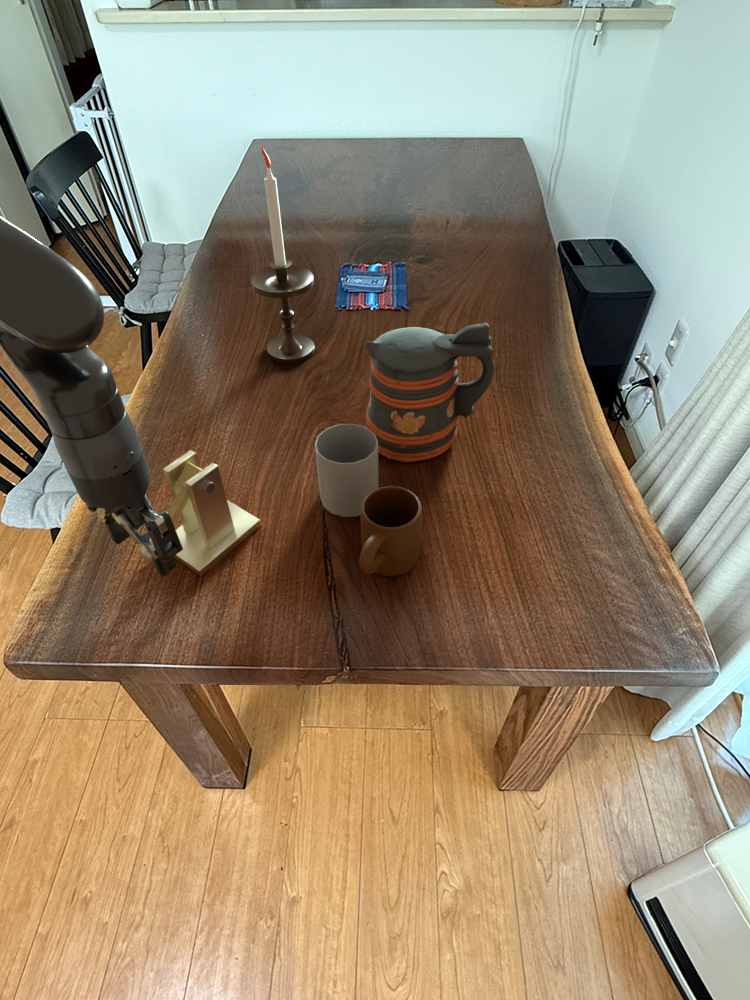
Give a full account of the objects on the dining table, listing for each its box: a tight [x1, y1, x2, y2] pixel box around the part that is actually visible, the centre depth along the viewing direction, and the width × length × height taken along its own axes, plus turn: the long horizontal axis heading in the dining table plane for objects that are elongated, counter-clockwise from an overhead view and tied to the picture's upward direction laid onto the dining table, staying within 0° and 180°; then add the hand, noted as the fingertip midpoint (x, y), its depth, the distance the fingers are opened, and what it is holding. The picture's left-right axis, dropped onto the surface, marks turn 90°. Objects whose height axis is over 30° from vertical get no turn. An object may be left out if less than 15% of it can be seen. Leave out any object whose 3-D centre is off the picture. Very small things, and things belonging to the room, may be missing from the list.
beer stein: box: [364, 322, 495, 463], centre depth 90 cm, size 19×15×20 cm
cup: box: [314, 423, 379, 518], centre depth 83 cm, size 8×8×10 cm
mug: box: [359, 485, 423, 577], centre depth 74 cm, size 12×8×9 cm, turn 156°
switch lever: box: [139, 463, 204, 564], centre depth 73 cm, size 13×3×3 cm
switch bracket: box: [162, 449, 262, 577], centre depth 77 cm, size 11×8×13 cm
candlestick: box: [250, 145, 316, 364], centre depth 102 cm, size 11×11×35 cm
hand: (145, 554), depth 73 cm, fingers open, 8 cm apart
